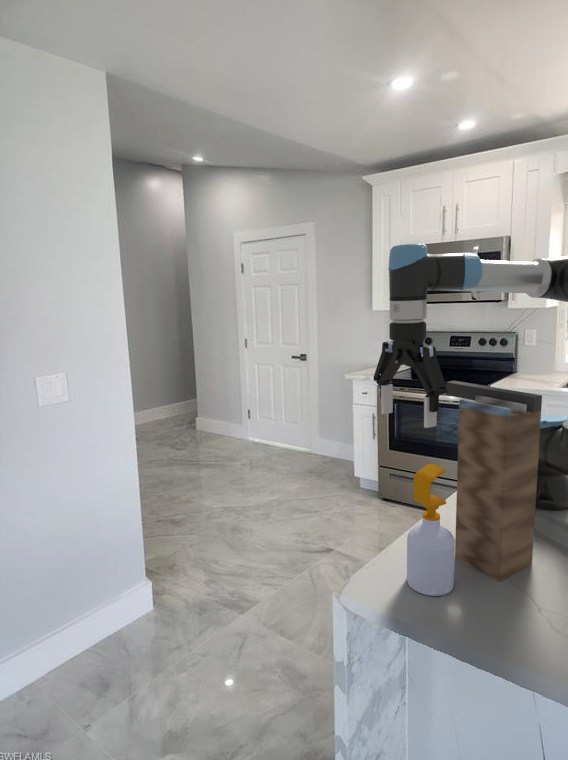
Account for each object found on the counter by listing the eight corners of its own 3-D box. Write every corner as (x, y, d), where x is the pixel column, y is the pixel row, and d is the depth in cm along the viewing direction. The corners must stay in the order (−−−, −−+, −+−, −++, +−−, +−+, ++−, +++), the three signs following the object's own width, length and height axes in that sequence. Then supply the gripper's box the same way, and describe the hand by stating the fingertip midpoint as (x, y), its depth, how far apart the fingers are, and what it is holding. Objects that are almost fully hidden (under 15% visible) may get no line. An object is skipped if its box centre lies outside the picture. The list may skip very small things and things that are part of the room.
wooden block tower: (453, 556, 110) (457, 399, 104) (485, 542, 116) (491, 391, 109) (499, 581, 101) (507, 409, 94) (532, 563, 106) (541, 400, 100)
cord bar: (446, 394, 115) (446, 382, 114) (453, 393, 116) (454, 380, 115) (533, 412, 97) (534, 397, 97) (541, 410, 99) (542, 395, 98)
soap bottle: (463, 587, 99) (467, 469, 95) (430, 602, 95) (432, 479, 90) (429, 566, 107) (431, 456, 102) (397, 579, 103) (398, 465, 98)
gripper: (357, 319, 114) (358, 410, 118) (438, 325, 92) (437, 436, 96) (383, 317, 117) (384, 406, 121) (467, 322, 96) (465, 429, 100)
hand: (407, 419), depth 109 cm, fingers open, 13 cm apart
